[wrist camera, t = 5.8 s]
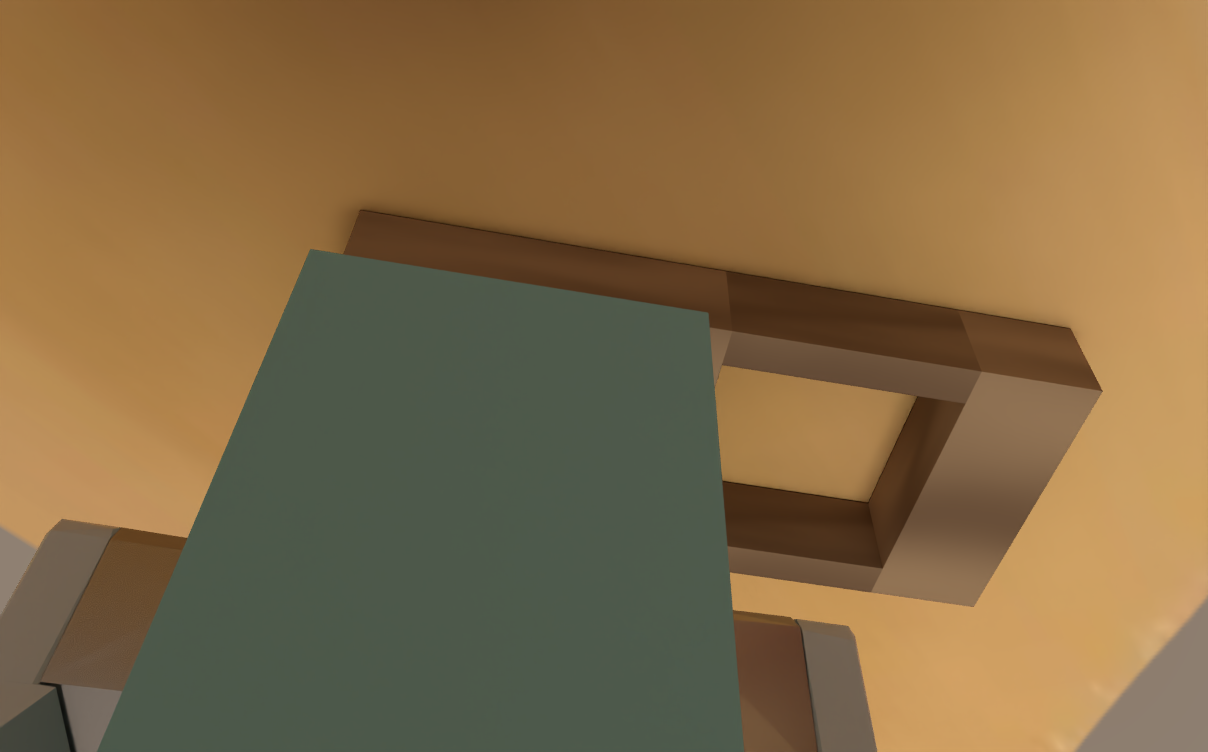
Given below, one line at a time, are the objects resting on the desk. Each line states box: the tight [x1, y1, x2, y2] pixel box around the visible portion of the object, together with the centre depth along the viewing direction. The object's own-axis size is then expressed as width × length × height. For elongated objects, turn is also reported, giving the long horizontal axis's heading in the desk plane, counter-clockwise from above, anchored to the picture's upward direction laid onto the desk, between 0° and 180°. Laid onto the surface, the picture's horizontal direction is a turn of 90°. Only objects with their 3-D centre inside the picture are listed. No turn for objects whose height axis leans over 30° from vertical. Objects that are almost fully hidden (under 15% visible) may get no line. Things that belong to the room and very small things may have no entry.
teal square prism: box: [97, 249, 744, 752], centre depth 10 cm, size 4×4×7 cm
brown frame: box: [344, 210, 1103, 607], centre depth 29 cm, size 8×18×2 cm, turn 80°
